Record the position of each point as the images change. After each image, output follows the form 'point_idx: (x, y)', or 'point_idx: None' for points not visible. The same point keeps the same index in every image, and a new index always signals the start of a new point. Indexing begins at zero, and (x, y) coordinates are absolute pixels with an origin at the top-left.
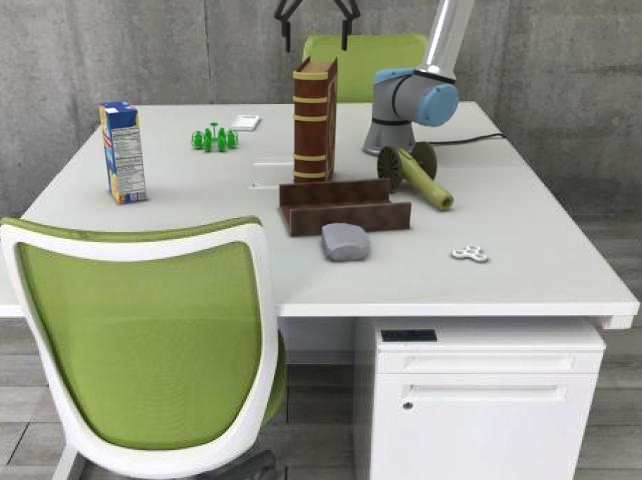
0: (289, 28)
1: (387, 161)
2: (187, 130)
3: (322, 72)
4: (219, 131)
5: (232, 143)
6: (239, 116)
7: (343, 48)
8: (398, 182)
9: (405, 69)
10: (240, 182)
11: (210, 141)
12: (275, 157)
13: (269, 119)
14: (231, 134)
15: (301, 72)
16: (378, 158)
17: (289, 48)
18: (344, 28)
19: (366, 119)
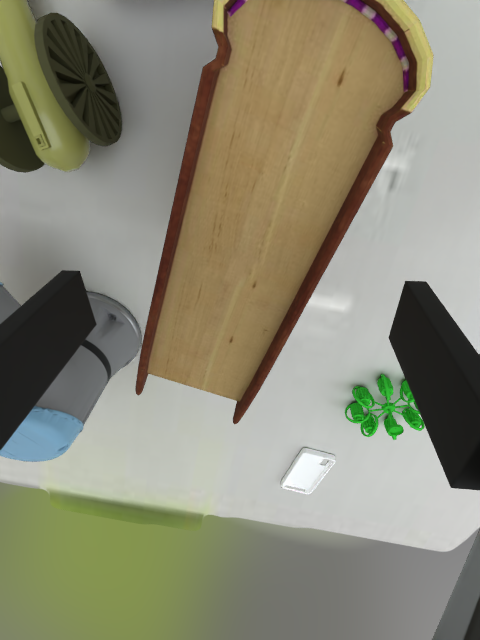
0: (477, 383)
1: (82, 92)
2: (401, 466)
3: (223, 193)
4: (376, 426)
5: (362, 390)
6: (309, 491)
7: (77, 287)
8: (68, 20)
9: None
10: (413, 206)
11: (407, 392)
12: (300, 332)
13: (266, 479)
14: (365, 404)
15: (327, 214)
16: (105, 138)
17: (419, 293)
18: (1, 353)
19: (128, 454)
